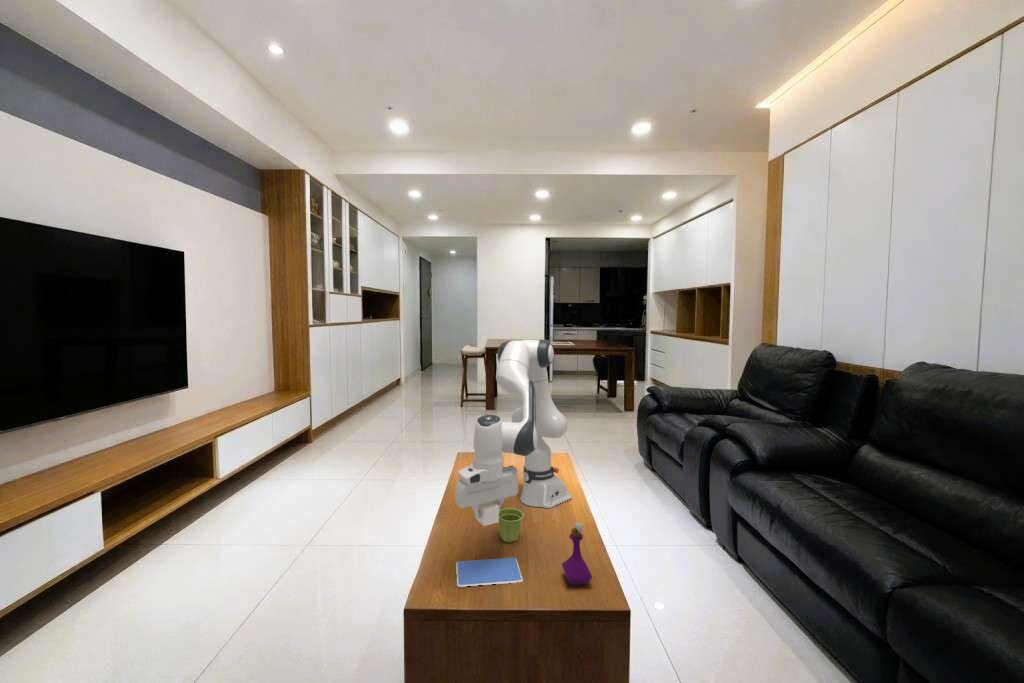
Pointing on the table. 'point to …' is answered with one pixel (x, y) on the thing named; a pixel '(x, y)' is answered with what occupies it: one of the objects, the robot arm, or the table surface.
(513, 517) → the plant pot
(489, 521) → the cream block
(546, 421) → the robot arm
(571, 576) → the perfume bottle
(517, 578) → the tablet computer
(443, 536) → the table surface
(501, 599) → the table surface
